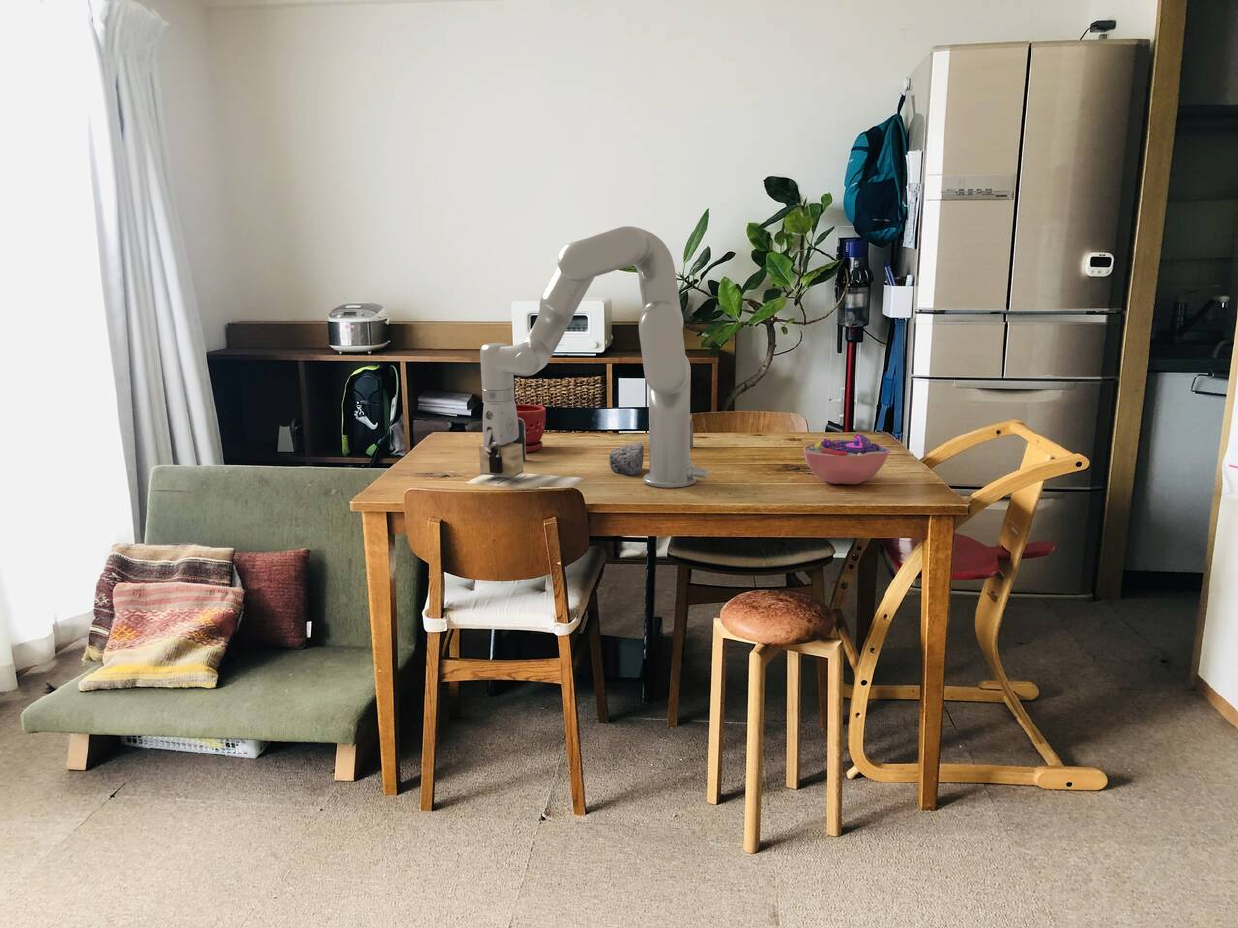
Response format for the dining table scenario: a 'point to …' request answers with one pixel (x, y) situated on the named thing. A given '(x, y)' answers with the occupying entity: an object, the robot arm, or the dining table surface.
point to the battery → (521, 436)
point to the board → (526, 481)
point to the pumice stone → (627, 459)
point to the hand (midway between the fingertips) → (501, 469)
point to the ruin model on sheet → (691, 432)
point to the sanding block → (504, 460)
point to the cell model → (845, 459)
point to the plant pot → (532, 424)
